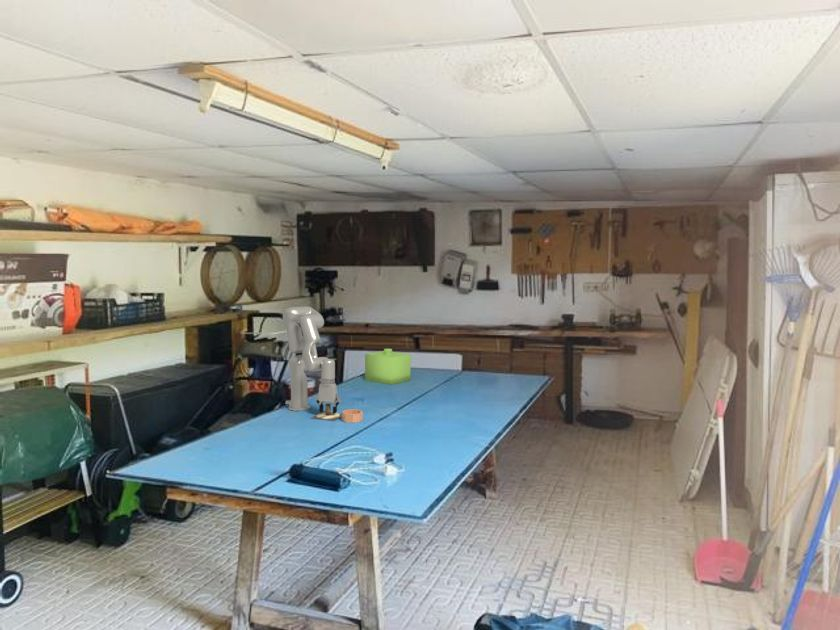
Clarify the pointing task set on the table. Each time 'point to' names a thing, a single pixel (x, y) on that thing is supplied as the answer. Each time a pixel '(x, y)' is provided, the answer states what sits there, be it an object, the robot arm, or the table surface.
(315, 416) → the mat
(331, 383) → the robot arm
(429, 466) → the table surface
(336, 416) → the lid
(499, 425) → the table surface
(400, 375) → the canister
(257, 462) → the table surface
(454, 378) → the table surface
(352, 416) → the bowl
